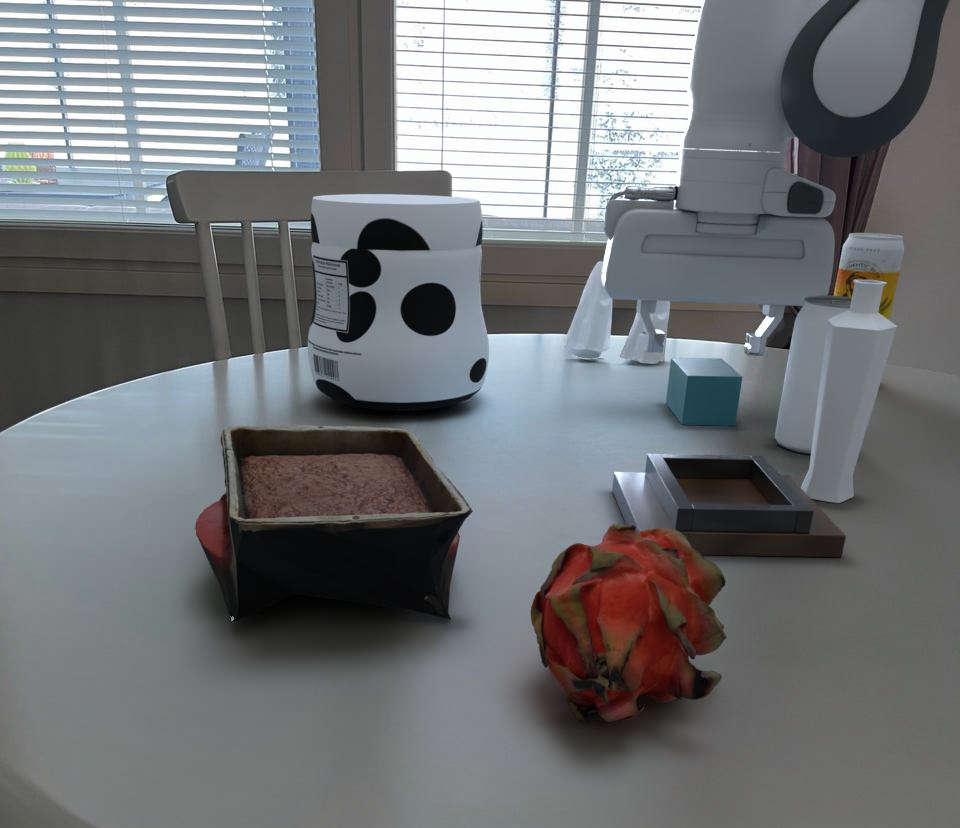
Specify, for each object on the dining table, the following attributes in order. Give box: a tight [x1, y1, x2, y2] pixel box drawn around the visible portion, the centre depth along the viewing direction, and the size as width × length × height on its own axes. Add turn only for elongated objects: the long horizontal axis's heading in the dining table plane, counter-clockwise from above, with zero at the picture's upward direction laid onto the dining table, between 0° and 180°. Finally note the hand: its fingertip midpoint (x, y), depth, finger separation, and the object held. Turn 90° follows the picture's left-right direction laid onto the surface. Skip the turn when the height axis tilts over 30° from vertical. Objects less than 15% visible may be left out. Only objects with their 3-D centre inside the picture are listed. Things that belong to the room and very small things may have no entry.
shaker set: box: [563, 260, 671, 365], centre depth 109 cm, size 12×4×11 cm, turn 82°
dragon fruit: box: [530, 523, 727, 724], centre depth 42 cm, size 8×8×12 cm
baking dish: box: [194, 424, 474, 624], centre depth 52 cm, size 14×18×10 cm
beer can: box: [833, 232, 906, 321], centre depth 101 cm, size 6×6×15 cm
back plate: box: [612, 453, 847, 558], centre depth 64 cm, size 13×12×3 cm
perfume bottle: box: [800, 280, 898, 504], centre depth 66 cm, size 5×4×15 cm
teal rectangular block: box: [665, 357, 744, 427], centre depth 89 cm, size 5×8×4 cm, turn 1°
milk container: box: [307, 193, 490, 412], centre depth 88 cm, size 17×17×18 cm
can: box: [774, 295, 852, 455], centre depth 79 cm, size 6×6×12 cm
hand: (703, 353), depth 87 cm, fingers open, 8 cm apart
